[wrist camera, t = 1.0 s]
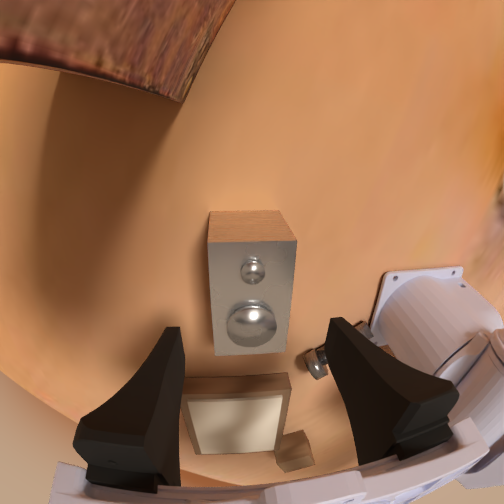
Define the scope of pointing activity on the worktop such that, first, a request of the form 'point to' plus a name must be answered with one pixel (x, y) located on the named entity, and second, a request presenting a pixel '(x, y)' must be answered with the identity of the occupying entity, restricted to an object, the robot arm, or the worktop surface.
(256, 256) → the housing
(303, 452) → the walnut block
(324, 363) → the loose bolt
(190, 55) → the book
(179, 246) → the worktop surface
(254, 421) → the stand
